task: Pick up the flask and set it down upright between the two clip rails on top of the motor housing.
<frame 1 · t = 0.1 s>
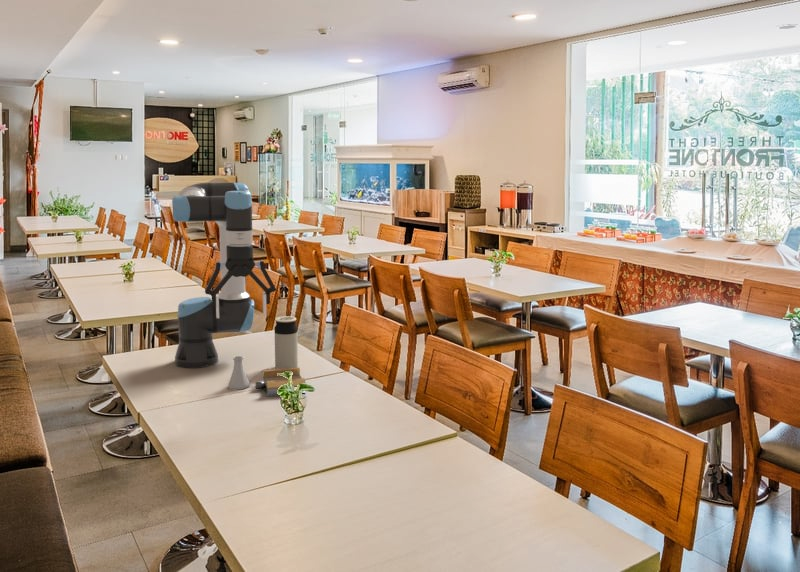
hand: (241, 316, 204), 28 cm above the table, fingers open, 13 cm apart
flask: (239, 387, 226), on the table
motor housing: (283, 387, 225), on the table
travel mug: (286, 367, 247), on the table
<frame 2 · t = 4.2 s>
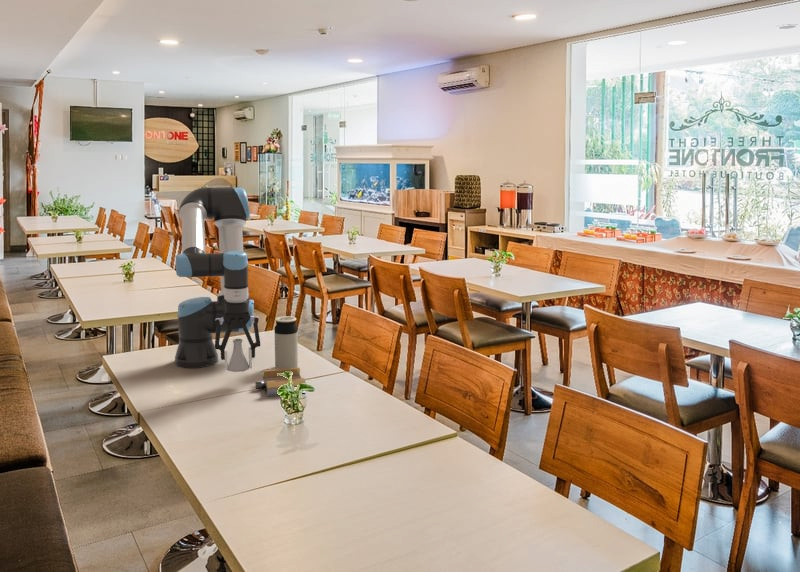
hand: (238, 367, 226), 6 cm above the table, fingers closed on flask, 7 cm apart
flask: (238, 369, 226), point 6 cm above the table, touching gripper
everything else where it was.
when the fingers open (3 cm above the table, at t = 7.6 s): flask stays where it is, resting on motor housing.
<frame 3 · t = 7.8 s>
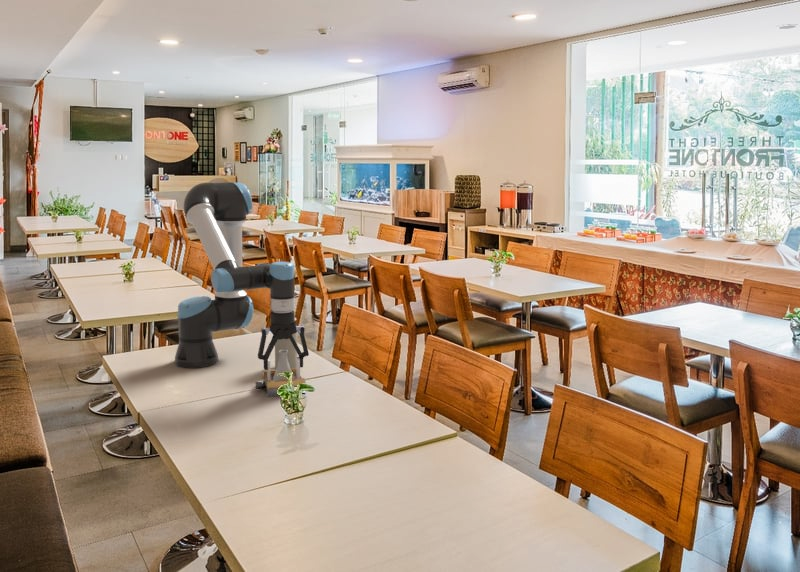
hand: (283, 377, 225), 3 cm above the table, fingers open, 9 cm apart
flask: (283, 381, 225), point 2 cm above the table, touching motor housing
everything else where it was.
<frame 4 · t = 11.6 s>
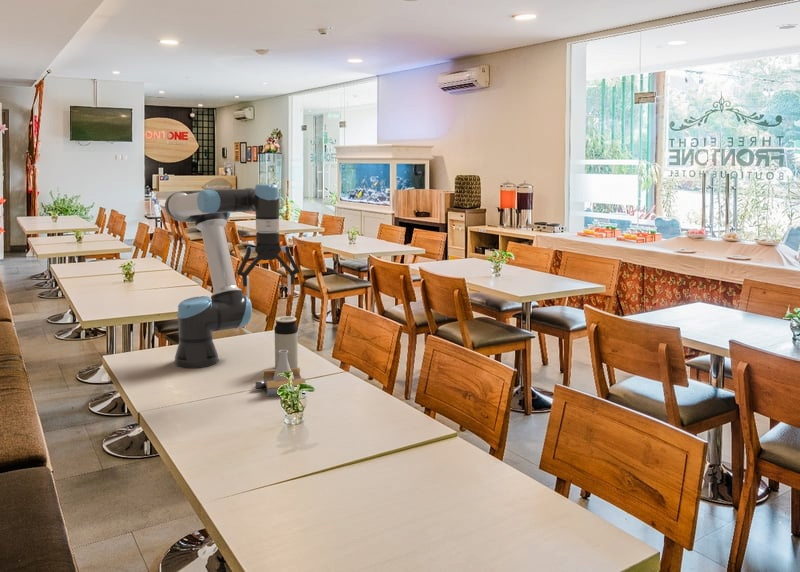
hand: (268, 295, 230), 29 cm above the table, fingers open, 13 cm apart
nothing on the table moved.
at the end: flask inside the target area on the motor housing (0.0 cm from its centre), point 2.3 cm above the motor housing's base; flask tilted 0°; the gripper is holding nothing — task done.
